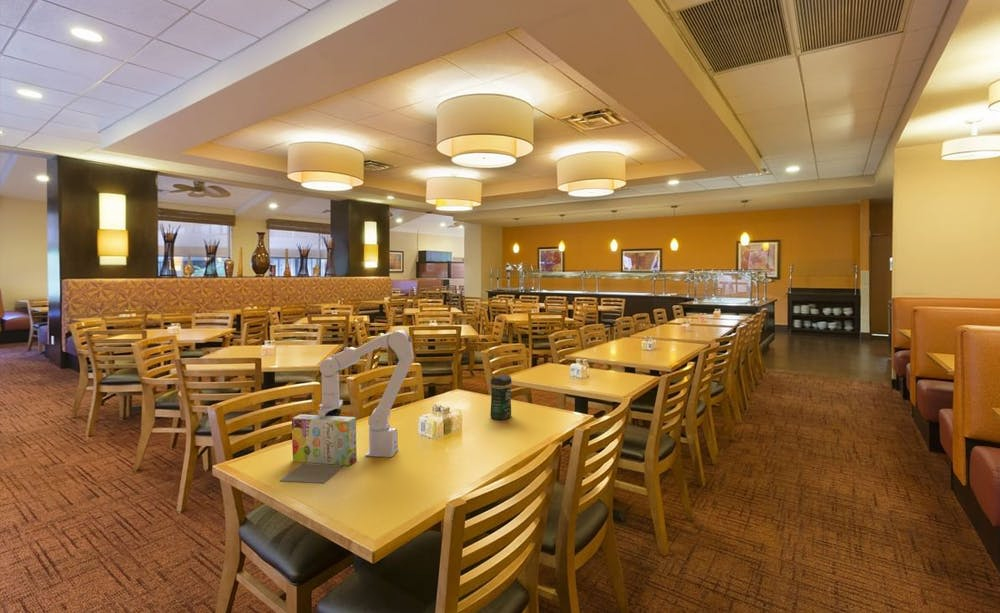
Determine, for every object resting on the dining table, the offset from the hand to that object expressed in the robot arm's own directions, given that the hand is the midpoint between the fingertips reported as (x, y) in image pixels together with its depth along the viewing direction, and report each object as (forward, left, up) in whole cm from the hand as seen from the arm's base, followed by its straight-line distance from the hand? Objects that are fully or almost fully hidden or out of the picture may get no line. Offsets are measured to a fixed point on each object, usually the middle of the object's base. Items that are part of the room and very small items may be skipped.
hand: (331, 431), depth 168 cm
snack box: (0, +6, -9) cm, 10 cm away
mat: (-1, +16, -8) cm, 18 cm away
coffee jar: (-54, -50, -9) cm, 74 cm away
